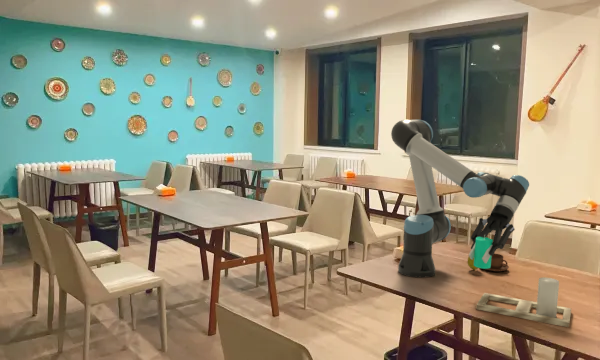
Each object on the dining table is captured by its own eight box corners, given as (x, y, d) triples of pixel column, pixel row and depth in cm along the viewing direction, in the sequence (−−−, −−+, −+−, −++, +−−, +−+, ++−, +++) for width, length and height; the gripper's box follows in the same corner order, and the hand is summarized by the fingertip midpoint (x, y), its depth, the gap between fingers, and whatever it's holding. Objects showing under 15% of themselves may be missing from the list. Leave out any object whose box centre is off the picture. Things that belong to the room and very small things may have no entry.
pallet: (476, 309, 172) (476, 304, 172) (484, 296, 184) (484, 292, 184) (568, 327, 158) (569, 322, 158) (570, 312, 170) (571, 308, 170)
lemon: (474, 273, 212) (475, 254, 211) (464, 269, 217) (465, 251, 216) (483, 271, 215) (484, 253, 214) (473, 267, 219) (474, 249, 218)
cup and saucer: (510, 268, 220) (511, 254, 219) (505, 275, 210) (506, 261, 209) (482, 263, 226) (483, 250, 226) (475, 270, 216) (476, 256, 216)
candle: (492, 269, 184) (494, 237, 182) (474, 267, 185) (477, 236, 183) (489, 264, 190) (491, 233, 188) (472, 263, 191) (475, 232, 189)
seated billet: (535, 316, 167) (537, 281, 165) (537, 310, 172) (539, 276, 170) (555, 320, 164) (558, 284, 162) (556, 314, 169) (559, 279, 167)
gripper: (530, 220, 188) (503, 271, 180) (486, 212, 201) (459, 259, 193) (524, 208, 184) (496, 259, 176) (479, 200, 197) (452, 247, 189)
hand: (477, 259), depth 185 cm, fingers closed on candle, 5 cm apart
